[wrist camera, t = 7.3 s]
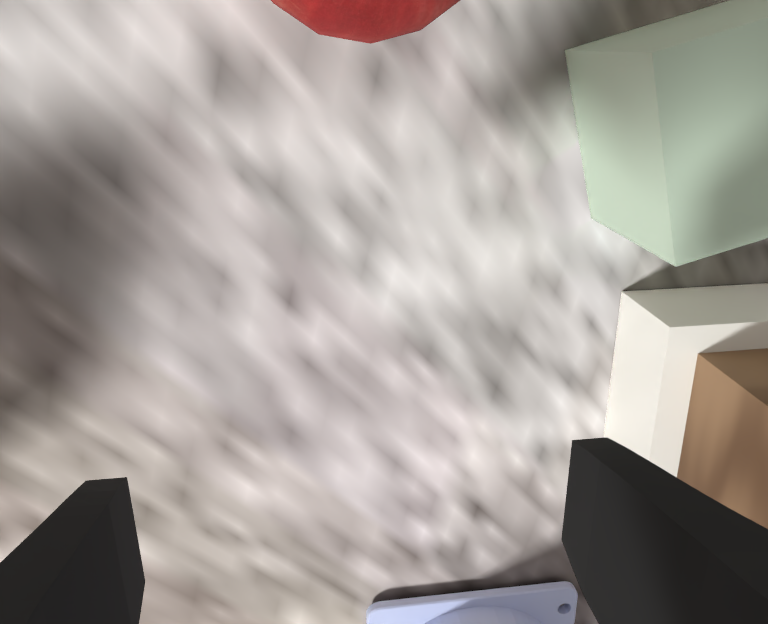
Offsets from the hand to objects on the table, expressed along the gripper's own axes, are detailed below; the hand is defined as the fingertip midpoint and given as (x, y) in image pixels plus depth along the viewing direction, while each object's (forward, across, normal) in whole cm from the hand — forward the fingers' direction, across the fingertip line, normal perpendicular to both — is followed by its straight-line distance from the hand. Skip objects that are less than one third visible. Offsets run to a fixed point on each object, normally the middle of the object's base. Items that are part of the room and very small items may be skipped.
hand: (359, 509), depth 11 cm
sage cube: (+10, -10, -5) cm, 15 cm away
